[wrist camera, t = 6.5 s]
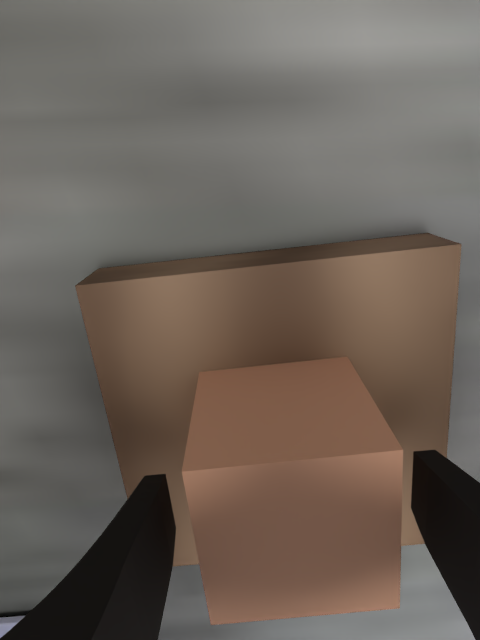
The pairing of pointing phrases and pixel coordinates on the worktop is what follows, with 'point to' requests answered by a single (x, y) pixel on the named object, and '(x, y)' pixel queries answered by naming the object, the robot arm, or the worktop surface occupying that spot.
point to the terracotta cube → (293, 492)
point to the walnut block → (273, 343)
